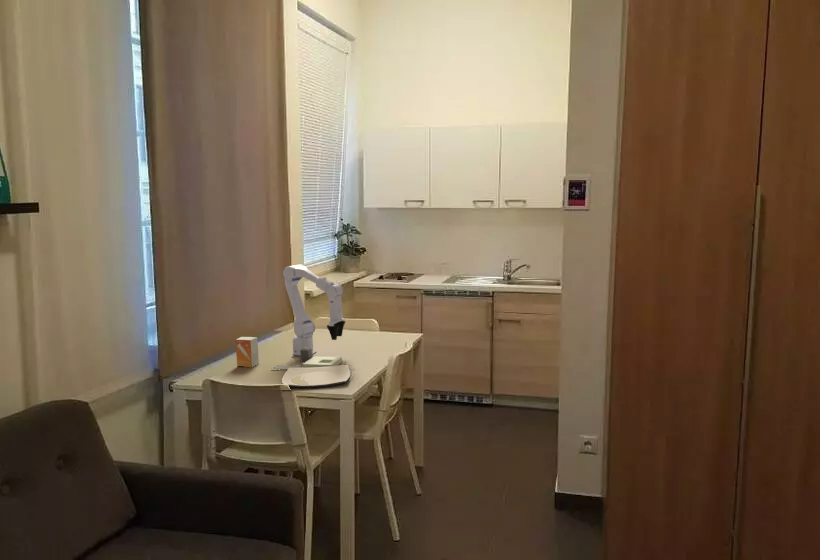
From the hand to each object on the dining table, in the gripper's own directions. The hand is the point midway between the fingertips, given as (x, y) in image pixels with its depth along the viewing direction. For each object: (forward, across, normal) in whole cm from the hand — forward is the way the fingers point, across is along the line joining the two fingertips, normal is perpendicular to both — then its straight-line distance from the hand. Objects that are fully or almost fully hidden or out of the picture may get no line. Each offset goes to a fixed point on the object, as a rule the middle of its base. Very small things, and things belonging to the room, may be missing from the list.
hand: (336, 337), depth 324 cm
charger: (+10, -8, +13) cm, 18 cm away
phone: (+10, -21, +17) cm, 29 cm away
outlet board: (+10, -13, +3) cm, 17 cm away
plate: (+10, -36, -3) cm, 38 cm away
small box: (+10, -18, +38) cm, 43 cm away
